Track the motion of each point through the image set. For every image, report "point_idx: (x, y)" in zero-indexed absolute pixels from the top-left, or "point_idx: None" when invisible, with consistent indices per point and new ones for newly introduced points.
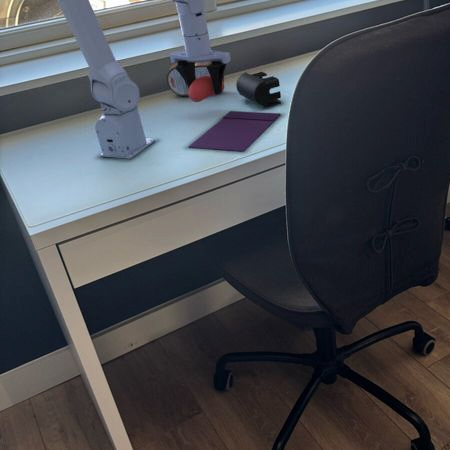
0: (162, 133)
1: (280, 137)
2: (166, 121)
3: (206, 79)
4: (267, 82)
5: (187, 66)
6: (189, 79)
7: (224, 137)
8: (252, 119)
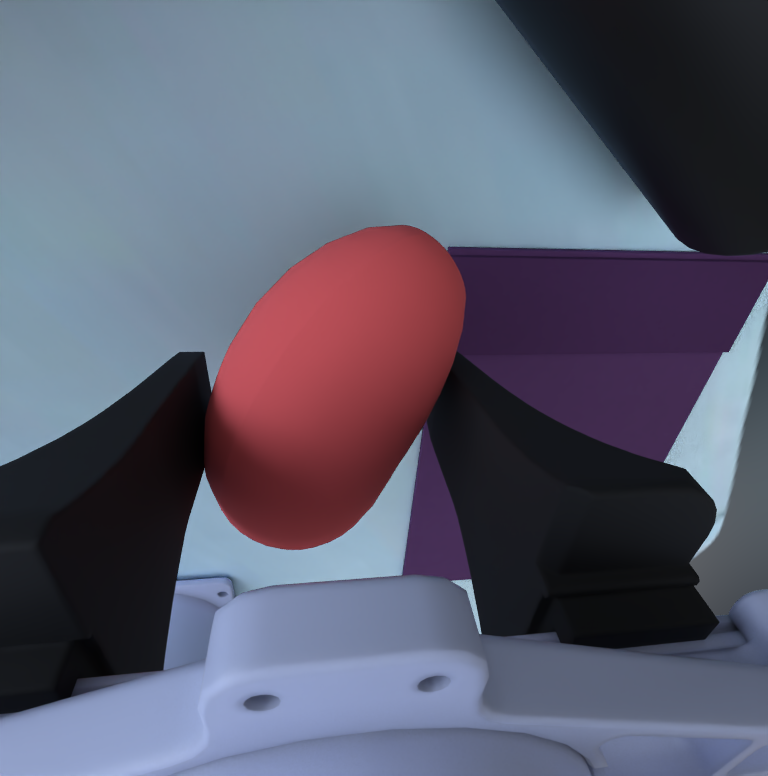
0: (199, 522)
1: (733, 467)
2: (89, 416)
3: (372, 485)
4: None
5: (134, 653)
6: (180, 520)
7: None
8: (614, 352)
